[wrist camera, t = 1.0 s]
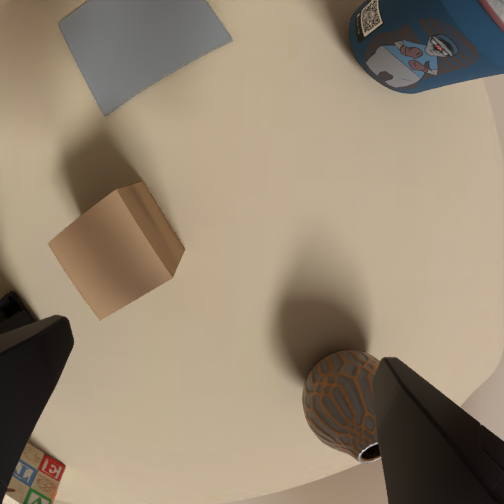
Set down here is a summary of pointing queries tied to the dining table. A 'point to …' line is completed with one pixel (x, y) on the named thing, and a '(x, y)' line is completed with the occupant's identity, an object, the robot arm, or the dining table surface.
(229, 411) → the dining table surface
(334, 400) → the vase
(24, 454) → the stack of blocks
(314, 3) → the dining table surface
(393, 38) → the soda can
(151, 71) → the slate mat
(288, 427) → the dining table surface
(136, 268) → the walnut cube
